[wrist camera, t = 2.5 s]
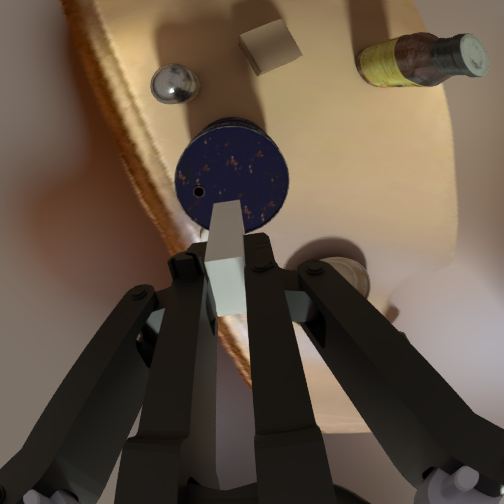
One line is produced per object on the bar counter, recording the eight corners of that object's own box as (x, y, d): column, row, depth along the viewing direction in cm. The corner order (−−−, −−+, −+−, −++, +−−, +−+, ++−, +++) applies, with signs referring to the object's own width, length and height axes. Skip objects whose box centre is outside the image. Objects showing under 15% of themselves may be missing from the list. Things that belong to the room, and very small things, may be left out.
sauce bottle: (373, 95, 34) (471, 106, 16) (345, 60, 31) (435, 40, 14) (402, 72, 32) (504, 74, 14) (376, 37, 29) (472, 14, 12)
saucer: (277, 257, 45) (280, 266, 43) (367, 242, 45) (373, 250, 43) (285, 326, 53) (287, 336, 50) (361, 311, 52) (366, 320, 50)
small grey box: (238, 44, 30) (239, 34, 25) (274, 30, 29) (281, 18, 24) (257, 76, 32) (261, 71, 27) (292, 61, 31) (302, 54, 26)
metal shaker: (162, 74, 31) (142, 67, 23) (197, 66, 31) (187, 57, 23) (167, 107, 33) (149, 109, 26) (202, 99, 33) (193, 99, 26)
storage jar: (260, 108, 34) (277, 112, 21) (277, 178, 39) (300, 221, 26) (185, 128, 35) (157, 144, 22) (206, 196, 40) (193, 247, 27)
